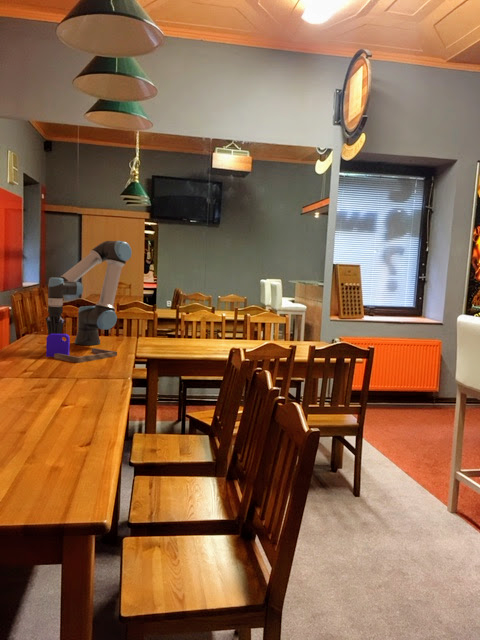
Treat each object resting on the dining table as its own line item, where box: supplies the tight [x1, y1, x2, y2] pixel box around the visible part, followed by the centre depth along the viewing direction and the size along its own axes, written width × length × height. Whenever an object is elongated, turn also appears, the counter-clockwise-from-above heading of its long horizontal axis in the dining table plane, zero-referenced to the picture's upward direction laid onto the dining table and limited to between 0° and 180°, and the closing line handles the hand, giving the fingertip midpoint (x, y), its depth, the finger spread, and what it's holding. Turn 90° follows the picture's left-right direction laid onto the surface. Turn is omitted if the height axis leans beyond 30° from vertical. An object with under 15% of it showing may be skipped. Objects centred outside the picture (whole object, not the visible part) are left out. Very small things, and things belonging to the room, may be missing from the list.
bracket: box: [45, 333, 71, 358], centre depth 278 cm, size 18×11×12 cm, turn 10°
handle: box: [53, 347, 118, 364], centre depth 273 cm, size 28×17×2 cm, turn 151°
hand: (54, 348), depth 283 cm, fingers closed
